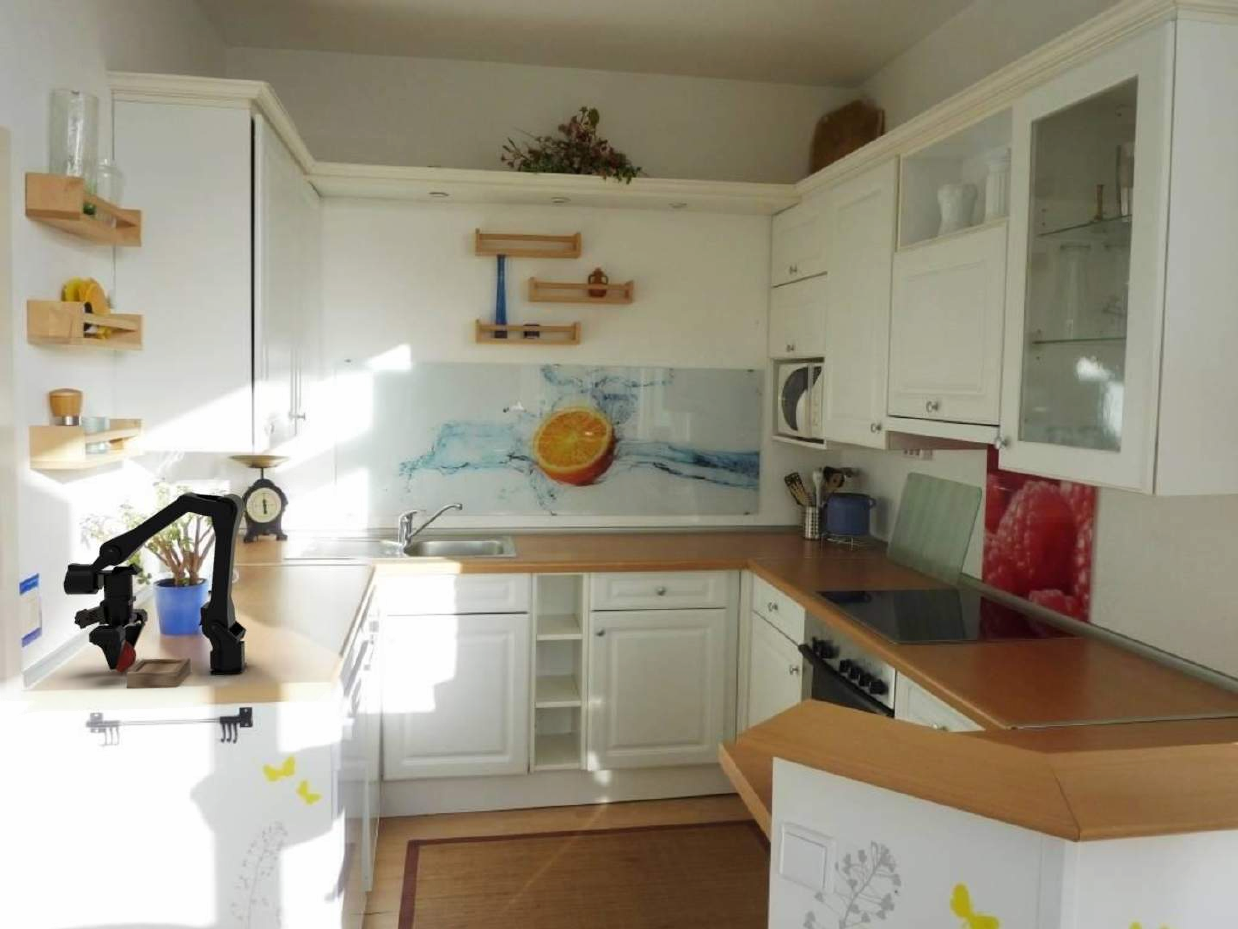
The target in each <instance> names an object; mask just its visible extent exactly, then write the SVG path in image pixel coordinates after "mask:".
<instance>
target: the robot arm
mask: <svg viewBox="0 0 1238 929" xmlns="http://www.w3.org/2000/svg"><path fill="white" fill-rule="evenodd" d="M245 508H246V505H245V501H244V499H242V498H241V496H239V495H237V494H234V493H227V494H225V495H216V494H208V493H207V494H206V493H205V494H203V493H197V492H196V493H195V492H193V491H188V492H186V493H185V492H184V493H183V494H181V495H179V496H177V498H176V499H175V500H174V501H172V502H171V503H170V504H168V505H167V506H165V507H163V508H162V509H161V510H159V511H158V512H156V513H155V514H154V515H152V516H150V517H149V518H147V519H146V520H144V521H143V522H142V523H140V524H138V526H136V527H135V528H133V529H130V530H128V531H126V532H124V533H121V534H119V535H117V536H114V537H112V538H110V539H108V540H107V541H105V542H103V543H102V544H101V545H100V546H99V549H98V556H97V557H96V559H94V561H93V562H92V563H78V562H72V563H70V564H68V565H67V571H66V573H65V576H64V580H63V591H64V593H65V594H66V595H67V596H69V595H70V596H71V595H73V596H76V595H77V596H81V595H83V596H85V595H97V594H98V593H99V591H101V590H102V589H103V600H101V601H100V602H99V605H98V606H95V607H92V608H91V607H90V608H89V609H87V608H83V609H82V610H78V611H76V612H75V616H74V617H73V618H74V622H73V623H74V625H77V626H79V629H80V630H84V629H86V628H87V627H89V626H92V625H95V624H97V623H99V624H98V626H96V627H95V628H93V629H92V630H91V631H90V632H89V633H88V642H89V644H90V643H91V644H92V645H94V646H97V647H98V648H100V649H101V651H102V652H103V655H104V658H105V660H106V662H107V665H108V669H109V670H110V671H114V670H115V669H116V667H117V664H118V661H119V658H120V655H121V652H122V649H123V646H124V643H125V641H126V642H128V643H130V644H131V645H132V646H133V648H134V649H135V647H136V645H137V643H138V640H139V639H140V637H141V634H142V632H143V630H144V628H145V626H146V622H148V620H149V619H148V617H149V616H148V615H149V614H148V611H146V610H145V609H144V608H134V603H135V602H137V595H134V585H133V582H134V579H133V578H134V577H133V576H137V575H140V573H142V572H143V571H144V570H143V568H142V567H140V566H139V565H137V564H136V562H132V563H130V564H129V565H121V564H124V563H126V562H127V561H128V560H130V559H132V558H133V557H134V556H135V555H136V554H137V553H138V552H139V551H140V550H141V549H142V548H143V546H145V544H146V543H148V541H149V540H150V539H152V538H153V537H154V536H156V535H157V534H159V533H160V532H162V531H163V530H165V529H166V528H168V527H169V526H170V525H172V524H173V523H175V522H177V521H178V520H179V519H181V518H182V517H184V516H185V515H186V514H188V513H191V514H196V515H199V516H202V517H206V518H211V526H212V529H213V531H214V536H215V539H214V549H213V550H214V551H213V552H214V553H213V563H212V564H213V567H212V575H211V576H212V580H211V589H210V590H211V591H210V593H211V594H210V598H209V599H210V600H209V601H207V602H205V603H204V604H203V605H202V606H201V607H200V610H199V613H200V621H199V623H198V627H201V633H202V635H204V636H205V637H206V639H208V640H209V642H210V645H211V647H212V648H211V650H210V652H209V660H210V661H209V669H210V670H211V671H210V675H229V674H230V675H233V674H235V675H237V674H242V673H243V671H244V670H245V668H246V667H247V666H248V663H246V656H245V655H246V651H245V649H246V645H245V644H246V641H245V640H243V639H244V638H245V635H246V632H247V629H246V628H245V627H244V626H243V625H242V624H241V623H240V622H238V621H237V620H236V610H235V604H234V602H233V597H232V589H233V579H234V578H233V575H234V566H235V565H234V564H235V552H236V540H237V539H236V538H237V533H238V531H239V528H240V527H241V526H240V525H241V524H242V520H243V517H244V513H245V510H246V509H245ZM110 566H111V567H113V569H107V568H108V567H110ZM115 671H116V670H115Z"/></svg>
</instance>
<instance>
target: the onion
mask: <svg viewBox="0 0 1238 929" xmlns="http://www.w3.org/2000/svg"><path fill="white" fill-rule="evenodd" d="M136 659H137V651H136V649H135V648H133V646H132V645H131V644H130V643H128V642H126V641H125V643H124V646H123V649H122V652H121V655H120V658H119V661H118V664H117V667H116V669H115V671H117V672H118V673H119V674H121V673H122V674H123V673H124V672H126V671H128V669H130V668H131V667H132V666H134V664H135V662H136Z"/></svg>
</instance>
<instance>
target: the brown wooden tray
mask: <svg viewBox="0 0 1238 929" xmlns="http://www.w3.org/2000/svg"><path fill="white" fill-rule="evenodd" d="M190 673H191V658H146V659H145V658H143V659H141V660H139V662H137V664H135V665H133V667H132V668H131V669H130V670H128V671H127V672H126V688H127V689H135V688H137V689H141V688H142V689H143V688H177V687H178V686H179V685H180V684H181V683H182V682H183V681H184V680H185V679H186V678H187V676H189V674H190Z"/></svg>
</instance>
